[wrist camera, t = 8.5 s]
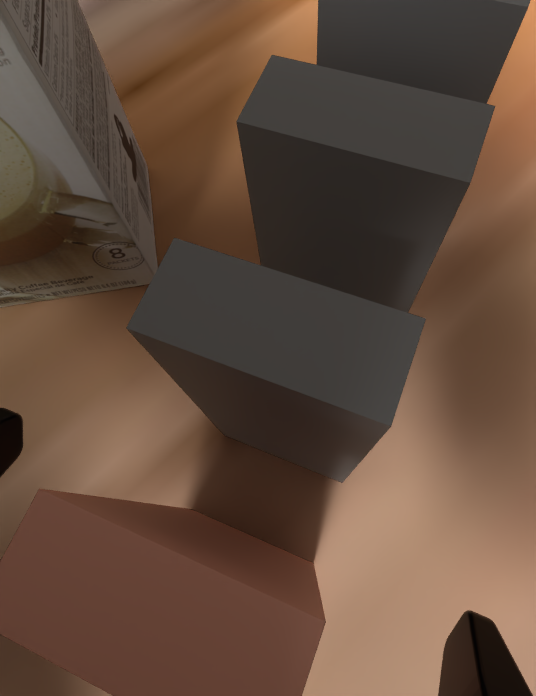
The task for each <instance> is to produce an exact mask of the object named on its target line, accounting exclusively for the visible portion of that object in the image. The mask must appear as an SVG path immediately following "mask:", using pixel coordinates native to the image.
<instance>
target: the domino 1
mask: <svg viewBox="0 0 536 696" xmlns="http://www.w3.org/2000/svg"><path fill="white" fill-rule="evenodd" d="M529 3H530V0H318V34H317V65H319V66H323V67H327V68H332V69H336V70H341V71H345V72H349V73H354V74H358V75H362V76H367V77H371V78H375V79H380V80H384V81H388V82H393V83H397V84H402V85H406V86H410V87H415V88H419V89H423V90H428V91H432V92H436V93H441V94H445V95H450V96H454V97H458V98H463V99H467V100H471V101H476V102H480V103H484V104H487V101H488V99H489V97H490V94H491V92H492V90H493V88H494V85H495V83H496V81H497V78H498V76H499V74H500V71H501V69H502V67H503V64H504V62H505V60H506V57H507V55H508V53H509V50H510V48H511V46H512V43H513V41H514V39H515V36H516V34H517V32H518V30H519V27H520V25H521V23H522V20H523V18H524V16H525V13H526V11H527V9H528V6H529Z"/></svg>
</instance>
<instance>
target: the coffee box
mask: <svg viewBox="0 0 536 696" xmlns="http://www.w3.org/2000/svg"><path fill="white" fill-rule="evenodd" d="M157 269H158V266H157V256H156V245H155V235H154V224H153V213H152V202H151V192H150V184H149V174H148V166H147V163H146V161H145V158H144V156H143V154H142V152H141V150H140V147H139V145H138V143H137V140H136V138H135V136H134V133H133V131H132V129H131V126H130V124H129V122H128V119H127V117H126V115H125V112H124V110H123V107H122V105H121V103H120V100H119V98H118V96H117V93H116V91H115V88H114V86H113V83H112V81H111V79H110V76H109V74H108V72H107V69H106V67H105V64H104V62H103V59H102V57H101V55H100V52H99V50H98V48H97V45H96V43H95V41H94V38H93V36H92V34H91V32H90V29H89V27H88V24H87V22H86V19H85V17H84V15H83V13H82V10H81V8H80V5H79V3H78V1H77V0H0V307H6V306H11V305H18V304H24V303H31V302H38V301H44V300H51V299H58V298H63V297H70V296H76V295H83V294H89V293H95V292H101V291H108V290H115V289H121V288H127V287H134V286H140V285H146V284H150V282H151V281H152V279H153V277H154V275H155V273H156V271H157Z"/></svg>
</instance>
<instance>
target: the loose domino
mask: <svg viewBox="0 0 536 696" xmlns="http://www.w3.org/2000/svg"><path fill="white" fill-rule="evenodd" d="M325 623H326V621H325V616H324V611H323V606H322V601H321V597H320V592H319V587H318V582H317V577H316V573H315V568H314V563H312V562H309V561H307V560H305V559H303V558H300V557H298V556H296V555H294V554H291V553H289V552H287V551H285V550H282V549H280V548H278V547H276V546H273V545H271V544H269V543H266V542H264V541H262V540H260V539H257V538H255V537H253V536H251V535H248V534H246V533H244V532H242V531H239V530H237V529H235V528H233V527H230V526H228V525H226V524H224V523H221V522H219V521H217V520H214V519H212V518H210V517H208V516H205V515H203V514H201V513H199V512H196V511H194V510H192V509H185V508H178V507H171V506H163V505H156V504H149V503H141V502H134V501H126V500H119V499H112V498H104V497H97V496H90V495H82V494H75V493H67V492H60V491H53V490H45V489H39V490H38V492H37V494H36V495H35V497H34V499H33V501H32V503H31V505H30V507H29V509H28V510H27V512H26V514H25V516H24V518H23V520H22V522H21V524H20V525H19V527H18V529H17V531H16V533H15V535H14V537H13V539H12V540H11V542H10V544H9V546H8V548H7V550H6V552H5V554H4V555H3V557H2V559H1V561H0V634H1V635H3V636H4V637H6V638H8V639H10V640H12V641H14V642H15V643H17V644H19V645H21V646H23V647H25V648H26V649H28V650H30V651H32V652H34V653H36V654H37V655H39V656H41V657H43V658H45V659H47V660H48V661H50V662H52V663H54V664H56V665H58V666H59V667H61V668H63V669H65V670H67V671H69V672H70V673H72V674H74V675H76V676H78V677H80V678H81V679H83V680H85V681H87V682H89V683H91V684H92V685H94V686H96V687H98V688H100V689H102V690H103V691H105V692H107V693H109V694H111V695H113V696H302V693H303V690H304V687H305V684H306V681H307V678H308V675H309V672H310V669H311V666H312V663H313V660H314V657H315V653H316V650H317V647H318V644H319V641H320V638H321V635H322V632H323V629H324V626H325Z"/></svg>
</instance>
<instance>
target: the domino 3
mask: <svg viewBox="0 0 536 696" xmlns="http://www.w3.org/2000/svg"><path fill="white" fill-rule="evenodd" d="M425 320H426V319H425V318H422V317H419V316H416V315H413V314H410V313H407V312H403V311H400V310H397V309H394V308H391V307H388V306H385V305H382V304H379V303H375V302H372V301H369V300H366V299H363V298H360V297H357V296H354V295H351V294H348V293H344V292H341V291H338V290H335V289H332V288H329V287H326V286H323V285H320V284H317V283H313V282H310V281H307V280H304V279H301V278H298V277H295V276H292V275H289V274H286V273H282V272H279V271H276V270H273V269H270V268H267V267H264V266H261V265H258V264H255V263H251V262H248V261H245V260H242V259H239V258H236V257H233V256H230V255H227V254H224V253H220V252H217V251H214V250H211V249H208V248H205V247H202V246H199V245H196V244H193V243H189V242H186V241H183V240H180V239H177V238H174V239H173V241H172V243H171V245H170V247H169V249H168V250H167V252H166V254H165V256H164V258H163V260H162V262H161V264H160V265H159V267H158V269H157V271H156V273H155V275H154V277H153V279H152V281H151V282H150V284H149V286H148V288H147V290H146V292H145V294H144V296H143V297H142V299H141V301H140V303H139V305H138V307H137V309H136V311H135V312H134V314H133V316H132V318H131V320H130V322H129V324H128V326H127V327H126V328H127V329H128V331H129V332H130V333H131V334H132V335H133V336H134V337H135V338H136V339H137V340H138V341H139V343H140V344H141V345H142V346H143V347H144V348H145V349H146V350H147V351H148V352H149V354H150V355H151V356H152V357H153V358H154V359H155V360H156V361H157V362H158V363H159V364H160V366H161V367H162V368H163V369H164V370H165V371H166V372H167V373H168V374H169V375H170V376H171V378H172V379H173V380H174V381H175V382H176V383H177V384H178V385H179V386H180V387H181V388H182V390H183V391H184V392H185V393H186V394H187V395H188V396H189V397H190V398H191V399H192V401H193V402H194V403H195V404H196V405H197V406H198V407H199V408H200V409H201V410H202V411H203V413H204V414H205V415H206V416H207V417H208V418H209V419H210V420H211V421H212V422H213V423H214V425H215V426H216V427H217V428H218V429H219V430H220V431H221V432H222V433H223V434H224V435H225V436H227V437H230V438H232V439H235V440H237V441H240V442H242V443H245V444H247V445H250V446H252V447H255V448H257V449H260V450H262V451H265V452H267V453H270V454H272V455H274V456H277V457H279V458H282V459H284V460H287V461H289V462H292V463H294V464H297V465H299V466H302V467H304V468H307V469H309V470H312V471H314V472H317V473H319V474H322V475H324V476H327V477H329V478H332V479H334V480H337V481H339V482H341V483H342V482H343V481H344V480H345V479H346V478H347V477H348V476H349V474H350V473H351V472H352V471H353V470H354V469H355V467H356V466H357V465H358V464H359V463H360V462H361V460H362V459H363V458H364V457H365V456H366V455H367V454H368V452H369V451H370V450H371V449H372V448H373V447H374V445H375V444H376V443H377V442H378V441H379V440H380V439H381V437H382V436H383V435H384V434H385V433H386V432H387V430H388V429H389V428H390V427H391V425H392V422H393V419H394V416H395V412H396V409H397V406H398V403H399V400H400V397H401V394H402V391H403V388H404V385H405V382H406V379H407V375H408V372H409V369H410V366H411V363H412V360H413V357H414V354H415V351H416V348H417V345H418V342H419V339H420V335H421V332H422V329H423V326H424V323H425Z"/></svg>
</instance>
